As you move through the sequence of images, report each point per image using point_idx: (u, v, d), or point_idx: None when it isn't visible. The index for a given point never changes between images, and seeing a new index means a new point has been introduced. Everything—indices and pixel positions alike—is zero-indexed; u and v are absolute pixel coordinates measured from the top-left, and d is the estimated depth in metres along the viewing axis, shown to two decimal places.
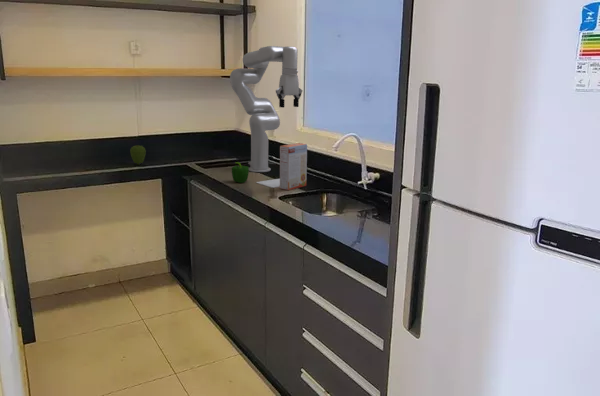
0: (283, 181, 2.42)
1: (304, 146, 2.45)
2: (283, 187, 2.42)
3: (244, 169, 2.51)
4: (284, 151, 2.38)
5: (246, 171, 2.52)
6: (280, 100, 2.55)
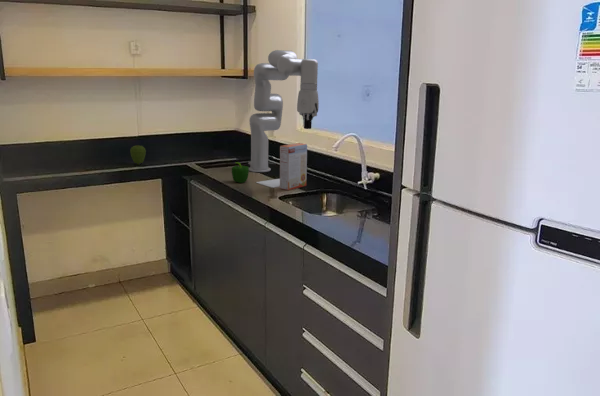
0: (283, 181, 2.42)
1: (304, 146, 2.45)
2: (283, 187, 2.42)
3: (244, 169, 2.51)
4: (284, 151, 2.38)
5: (246, 171, 2.52)
6: (310, 121, 2.32)
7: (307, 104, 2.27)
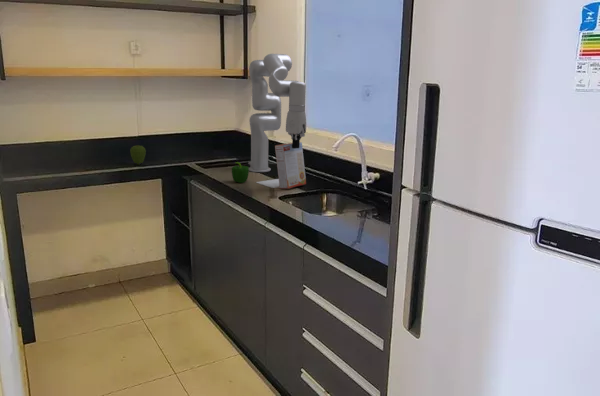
0: (282, 180, 2.42)
1: None
2: (283, 186, 2.42)
3: (244, 169, 2.51)
4: (279, 149, 2.40)
5: (246, 171, 2.52)
6: (298, 141, 2.40)
7: (295, 125, 2.36)
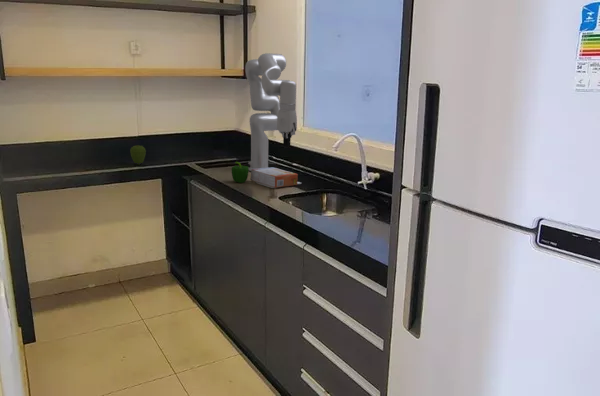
0: (270, 181, 2.44)
1: (270, 167, 2.63)
2: (274, 182, 2.42)
3: (244, 169, 2.51)
4: (252, 175, 2.55)
5: (246, 171, 2.52)
6: (288, 139, 2.45)
7: (286, 123, 2.40)
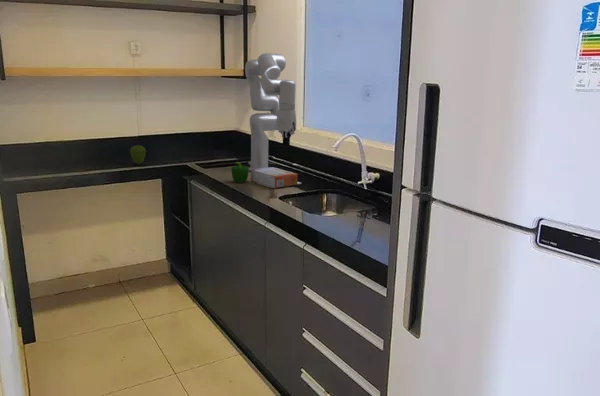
0: (270, 181, 2.44)
1: (270, 167, 2.63)
2: (273, 182, 2.42)
3: (244, 169, 2.51)
4: (252, 175, 2.55)
5: (246, 171, 2.52)
6: (288, 138, 2.45)
7: (285, 123, 2.41)
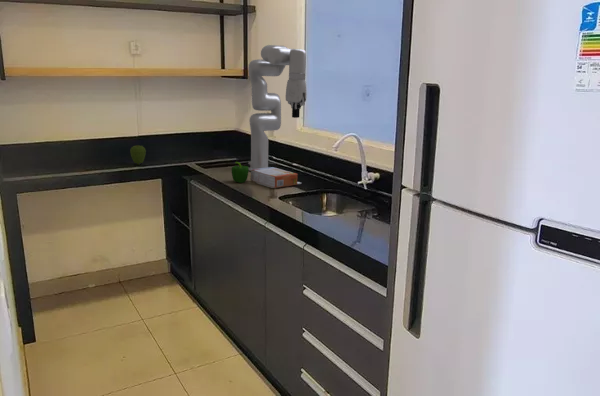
0: (270, 181, 2.44)
1: (270, 167, 2.63)
2: (273, 182, 2.42)
3: (244, 169, 2.51)
4: (252, 175, 2.55)
5: (246, 171, 2.52)
6: (298, 110, 2.37)
7: (295, 93, 2.33)
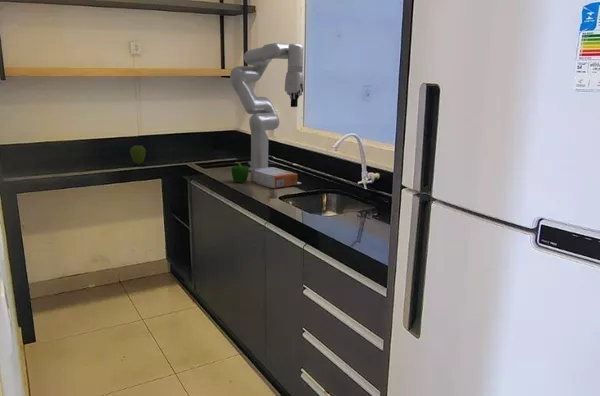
0: (270, 181, 2.44)
1: (270, 167, 2.63)
2: (273, 182, 2.42)
3: (244, 169, 2.51)
4: (252, 175, 2.55)
5: (246, 171, 2.52)
6: (296, 100, 2.58)
7: (293, 84, 2.53)
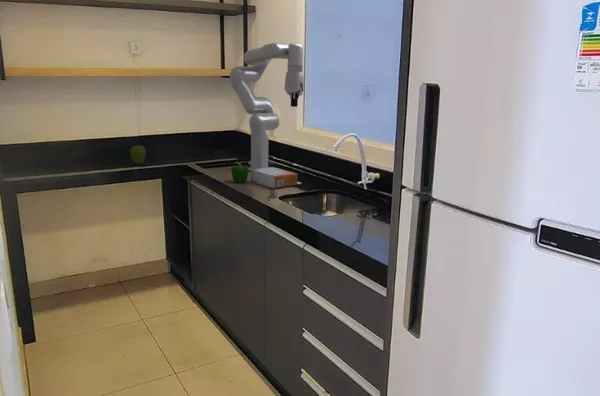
0: (270, 181, 2.44)
1: (270, 167, 2.63)
2: (273, 182, 2.42)
3: (244, 169, 2.51)
4: (252, 175, 2.55)
5: (246, 171, 2.52)
6: (296, 100, 2.58)
7: (293, 84, 2.54)
